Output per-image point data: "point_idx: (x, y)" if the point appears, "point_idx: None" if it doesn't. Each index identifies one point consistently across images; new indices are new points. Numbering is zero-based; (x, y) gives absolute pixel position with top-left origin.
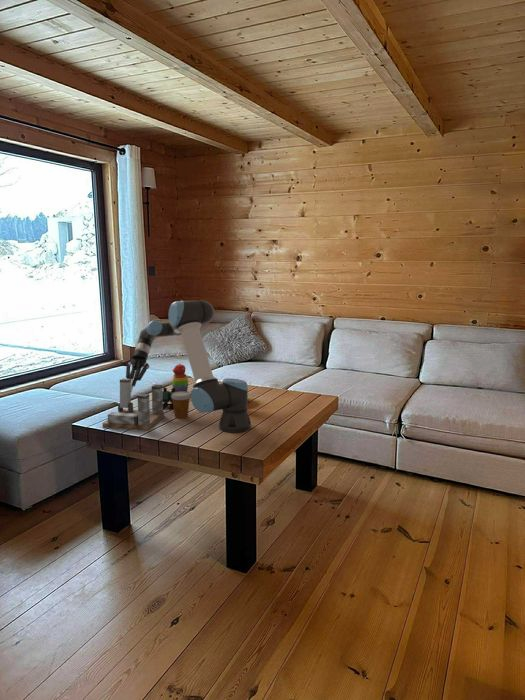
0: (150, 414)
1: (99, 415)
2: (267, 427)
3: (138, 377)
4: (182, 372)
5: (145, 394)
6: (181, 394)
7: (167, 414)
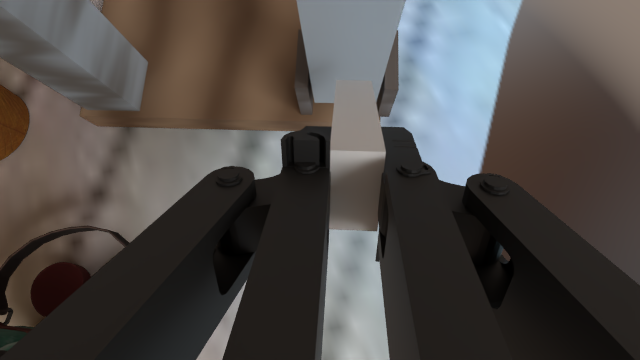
0: (157, 51)
1: (502, 61)
2: None
3: (221, 169)
4: None
5: None
6: None
7: (82, 154)
